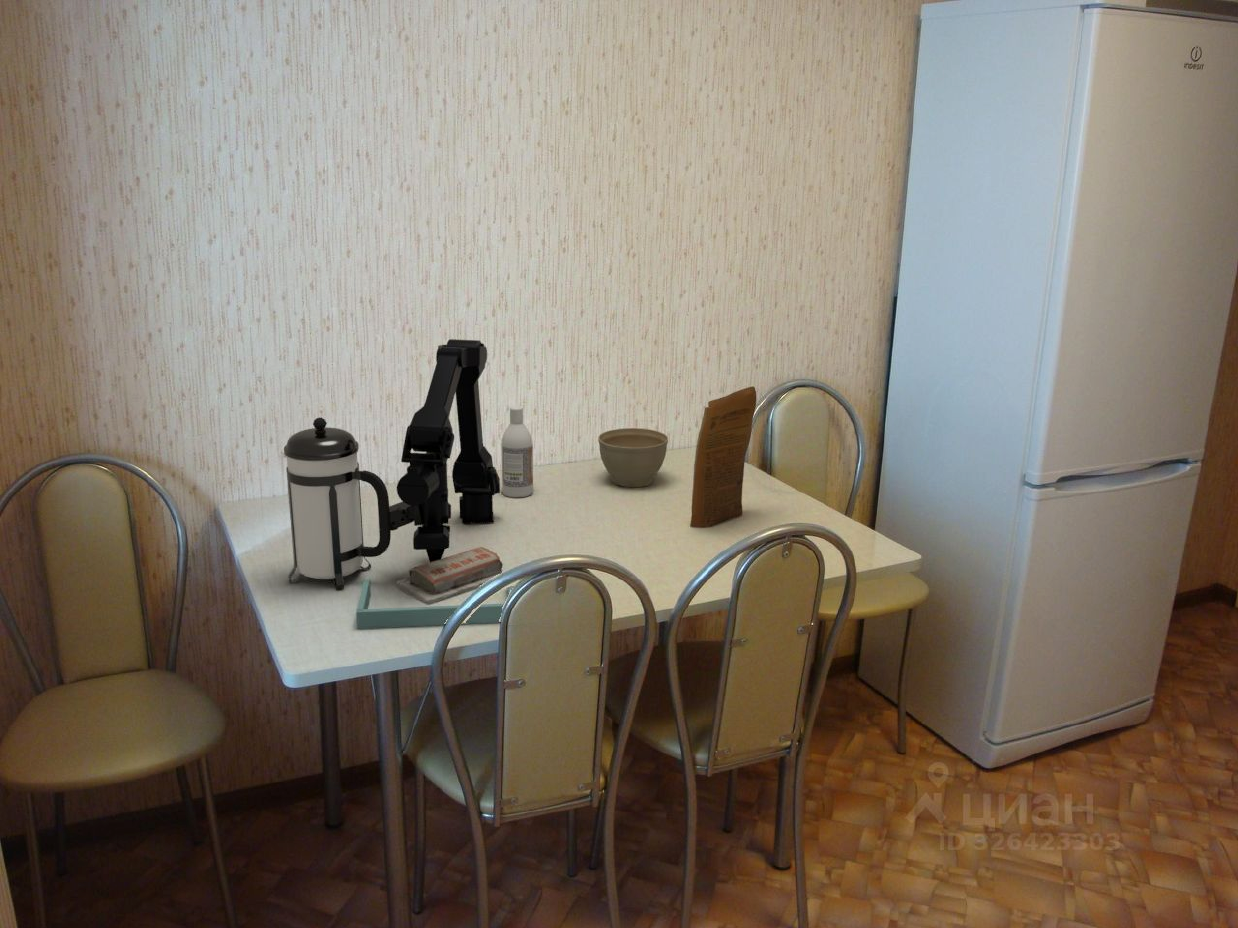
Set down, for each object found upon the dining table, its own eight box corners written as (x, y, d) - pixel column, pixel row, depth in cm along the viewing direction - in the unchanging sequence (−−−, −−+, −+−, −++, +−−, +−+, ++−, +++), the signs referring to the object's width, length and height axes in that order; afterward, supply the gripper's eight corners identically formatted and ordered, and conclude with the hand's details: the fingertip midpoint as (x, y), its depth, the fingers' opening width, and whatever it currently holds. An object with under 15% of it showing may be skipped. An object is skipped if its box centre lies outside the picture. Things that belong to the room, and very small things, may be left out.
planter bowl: (589, 474, 260) (590, 430, 256) (653, 469, 264) (654, 425, 261) (609, 495, 245) (609, 449, 242) (676, 489, 250) (678, 444, 246)
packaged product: (477, 540, 206) (510, 555, 199) (477, 564, 207) (510, 579, 200) (395, 564, 194) (427, 581, 187) (396, 589, 195) (428, 607, 188)
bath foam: (535, 497, 243) (534, 410, 237) (504, 499, 241) (502, 412, 235) (530, 487, 249) (529, 403, 243) (500, 489, 248) (498, 404, 242)
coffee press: (295, 599, 189) (281, 434, 180) (283, 566, 203) (270, 411, 194) (394, 584, 196) (385, 424, 187) (376, 553, 210) (367, 403, 201)
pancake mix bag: (760, 513, 235) (768, 387, 227) (701, 534, 222) (706, 401, 214) (737, 505, 240) (743, 381, 231) (677, 525, 227) (681, 395, 219)
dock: (512, 589, 195) (512, 573, 194) (515, 621, 182) (515, 605, 181) (364, 595, 192) (363, 579, 191) (357, 628, 179) (356, 612, 178)
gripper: (389, 473, 204) (393, 550, 208) (381, 506, 186) (386, 589, 191) (449, 471, 205) (452, 548, 210) (447, 504, 188) (450, 587, 192)
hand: (434, 567), depth 201 cm, fingers closed
